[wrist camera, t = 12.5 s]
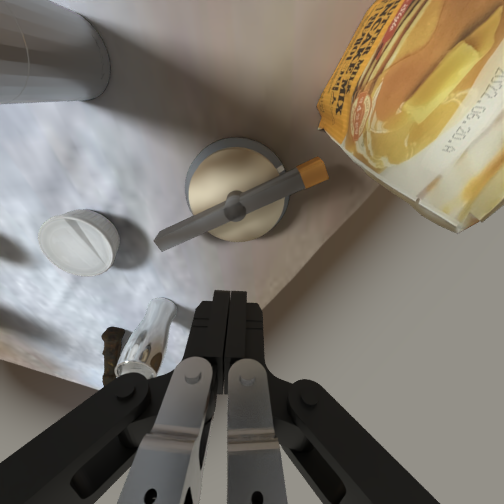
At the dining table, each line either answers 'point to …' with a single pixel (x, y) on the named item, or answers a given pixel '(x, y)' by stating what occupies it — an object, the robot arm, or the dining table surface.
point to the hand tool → (111, 352)
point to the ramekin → (80, 242)
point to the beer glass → (148, 340)
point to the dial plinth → (235, 143)
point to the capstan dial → (238, 196)
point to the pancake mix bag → (425, 105)
